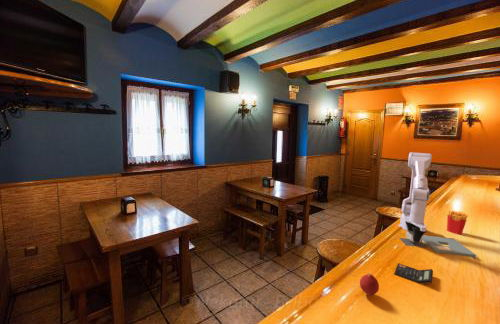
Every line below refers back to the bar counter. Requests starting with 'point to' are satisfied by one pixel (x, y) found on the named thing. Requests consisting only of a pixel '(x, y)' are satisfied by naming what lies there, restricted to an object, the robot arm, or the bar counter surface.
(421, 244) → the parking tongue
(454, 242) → the hole plate
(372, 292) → the onion
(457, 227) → the french fries
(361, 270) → the bar counter surface
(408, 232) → the tan cubic block
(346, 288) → the bar counter surface
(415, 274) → the calculator
